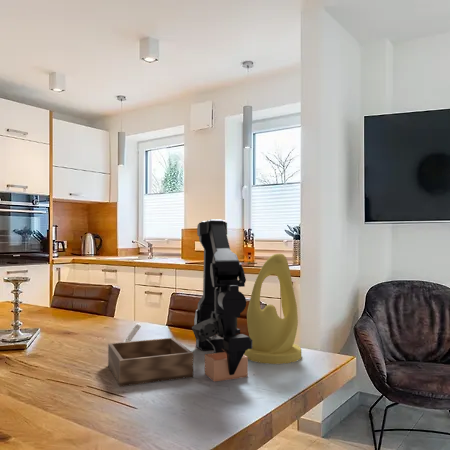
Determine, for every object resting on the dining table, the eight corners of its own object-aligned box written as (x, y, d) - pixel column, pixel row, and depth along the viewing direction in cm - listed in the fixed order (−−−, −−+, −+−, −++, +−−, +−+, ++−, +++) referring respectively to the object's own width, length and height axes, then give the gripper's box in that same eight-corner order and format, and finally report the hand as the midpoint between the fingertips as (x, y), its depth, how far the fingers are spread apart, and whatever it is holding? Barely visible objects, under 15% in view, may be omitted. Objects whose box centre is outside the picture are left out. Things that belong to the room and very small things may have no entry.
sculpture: (263, 366, 121) (263, 254, 122) (234, 352, 136) (234, 252, 137) (313, 359, 129) (312, 253, 130) (280, 346, 144) (279, 251, 144)
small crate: (236, 369, 118) (236, 350, 118) (247, 377, 112) (247, 356, 112) (204, 374, 115) (204, 354, 115) (214, 381, 109) (214, 360, 109)
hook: (155, 341, 128) (134, 328, 127) (131, 374, 129) (110, 361, 128) (157, 330, 135) (137, 318, 134) (134, 361, 136) (114, 349, 135)
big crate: (172, 358, 129) (172, 337, 129) (193, 377, 112) (193, 352, 112) (108, 365, 122) (108, 343, 122) (119, 386, 105) (120, 360, 105)
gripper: (184, 305, 119) (183, 364, 119) (209, 316, 102) (209, 386, 102) (222, 302, 124) (222, 359, 123) (253, 313, 107) (253, 380, 106)
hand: (225, 370), depth 114 cm, fingers open, 7 cm apart
